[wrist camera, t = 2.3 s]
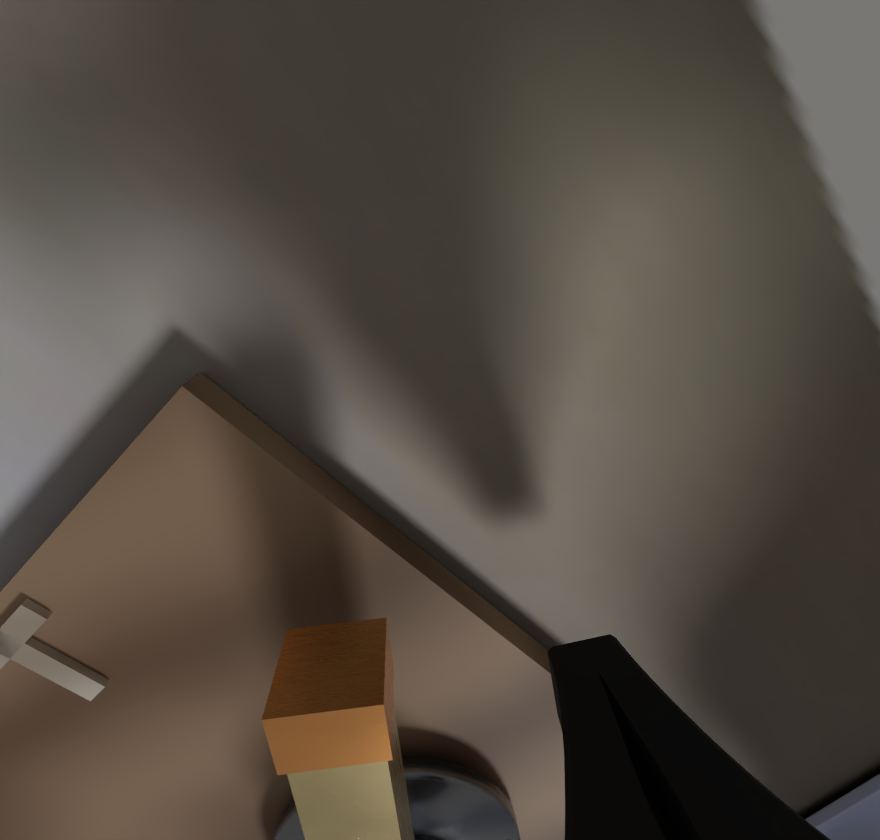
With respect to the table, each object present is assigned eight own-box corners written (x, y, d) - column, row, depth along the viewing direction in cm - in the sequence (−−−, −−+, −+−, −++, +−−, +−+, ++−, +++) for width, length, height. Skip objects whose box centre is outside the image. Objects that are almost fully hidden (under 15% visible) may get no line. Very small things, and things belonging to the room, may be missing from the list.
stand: (742, 805, 17) (766, 845, 16) (433, 1001, 20) (434, 1047, 19) (200, 372, 11) (177, 389, 10) (-142, 758, 14) (-190, 806, 12)
